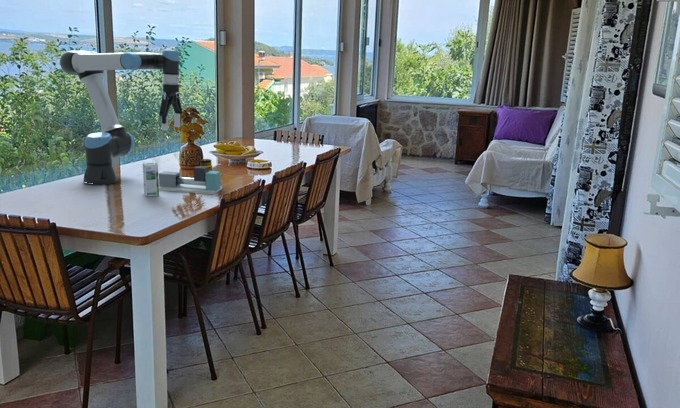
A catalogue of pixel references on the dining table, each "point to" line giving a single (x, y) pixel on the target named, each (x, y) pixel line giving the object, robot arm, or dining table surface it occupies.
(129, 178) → the dining table surface
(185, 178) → the tube
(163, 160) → the dining table surface
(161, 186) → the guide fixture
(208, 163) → the condiment
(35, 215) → the dining table surface
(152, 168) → the syrup box
